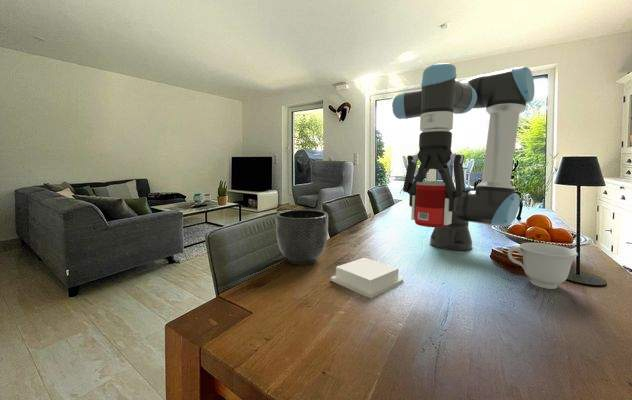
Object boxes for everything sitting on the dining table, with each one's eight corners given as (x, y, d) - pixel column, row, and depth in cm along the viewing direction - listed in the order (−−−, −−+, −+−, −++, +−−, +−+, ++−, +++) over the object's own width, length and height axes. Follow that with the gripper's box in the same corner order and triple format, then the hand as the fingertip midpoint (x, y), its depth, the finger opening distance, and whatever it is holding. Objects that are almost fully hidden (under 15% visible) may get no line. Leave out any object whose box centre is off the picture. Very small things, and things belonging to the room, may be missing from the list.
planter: (338, 264, 92) (338, 215, 90) (289, 274, 84) (288, 220, 82) (312, 250, 107) (312, 208, 105) (268, 257, 99) (267, 212, 97)
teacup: (499, 272, 85) (501, 239, 84) (559, 278, 81) (563, 244, 80) (513, 289, 74) (516, 252, 73) (584, 297, 69) (589, 258, 68)
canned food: (451, 228, 70) (454, 183, 68) (416, 227, 71) (419, 182, 70) (443, 222, 77) (445, 181, 76) (412, 220, 79) (414, 180, 77)
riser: (363, 268, 89) (363, 256, 88) (403, 282, 78) (403, 268, 78) (330, 280, 80) (330, 266, 79) (370, 298, 69) (371, 282, 69)
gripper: (391, 133, 76) (387, 217, 79) (475, 126, 61) (467, 230, 64) (406, 135, 81) (402, 214, 84) (487, 129, 66) (479, 226, 69)
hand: (430, 221), depth 74 cm, fingers closed on canned food, 8 cm apart
